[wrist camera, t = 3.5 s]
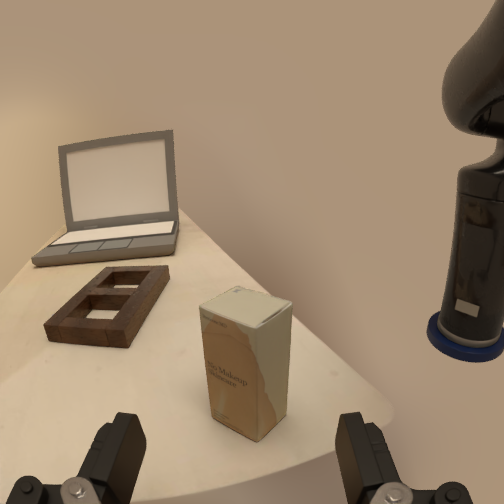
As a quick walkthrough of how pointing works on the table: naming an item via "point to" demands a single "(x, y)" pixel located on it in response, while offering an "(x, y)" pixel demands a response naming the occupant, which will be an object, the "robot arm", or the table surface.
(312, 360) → the table surface
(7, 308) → the table surface
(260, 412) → the box
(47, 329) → the socket pad
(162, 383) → the table surface
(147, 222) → the laptop
